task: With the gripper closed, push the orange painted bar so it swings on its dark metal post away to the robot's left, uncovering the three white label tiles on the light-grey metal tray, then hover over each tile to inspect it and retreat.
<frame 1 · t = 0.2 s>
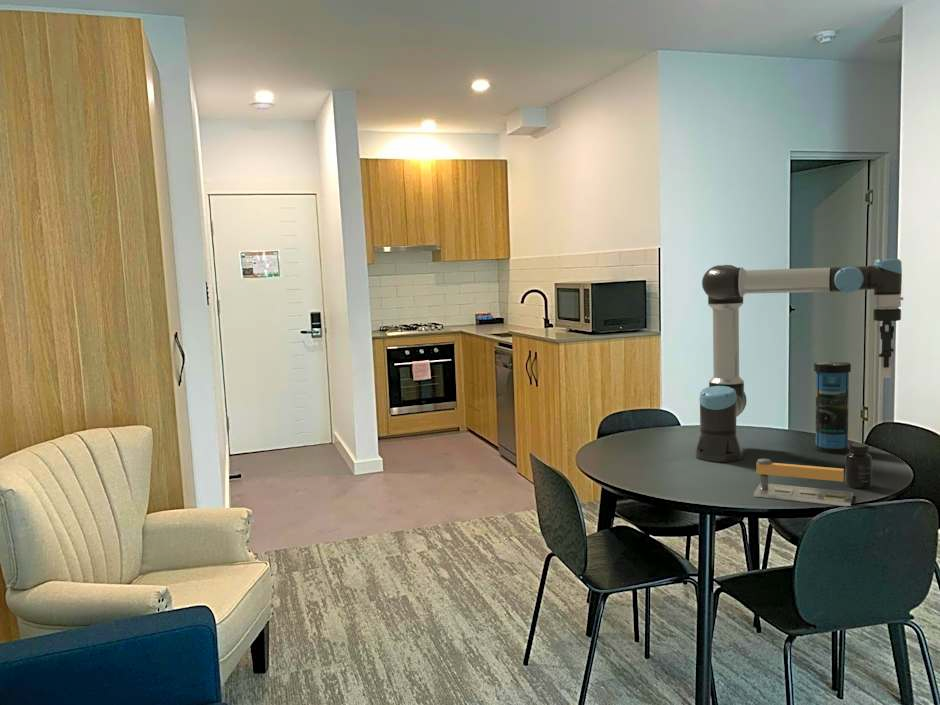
hand: (886, 375, 234), 28 cm above the table, fingers open, 13 cm apart
supplement bottle: (858, 486, 211), on the table
swing arm: (799, 469, 204), point 7 cm above the table, hinge at 0.0°
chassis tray: (802, 495, 204), on the table
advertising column: (831, 450, 253), on the table
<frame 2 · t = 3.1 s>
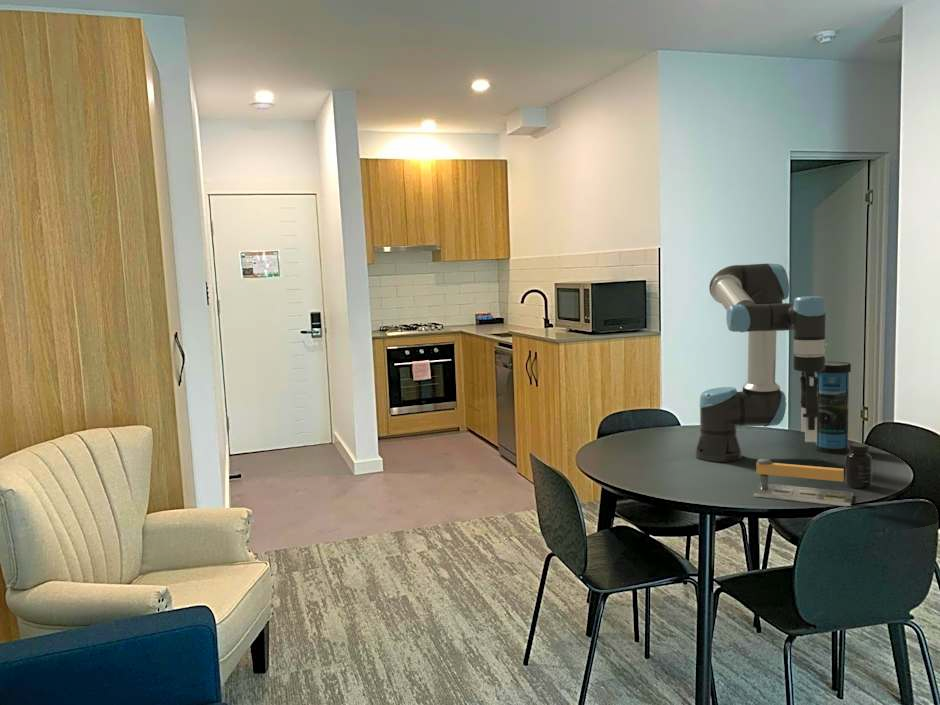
hand: (808, 436, 195), 18 cm above the table, fingers open, 12 cm apart
nothing on the table moved.
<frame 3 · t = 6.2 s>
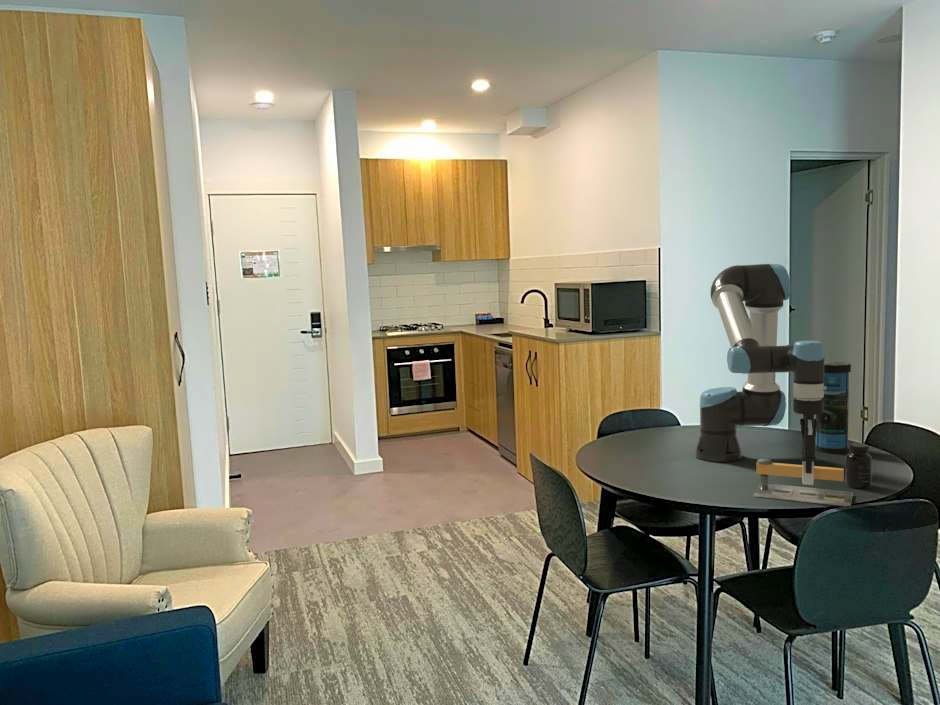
hand: (808, 483, 200), 4 cm above the table, fingers closed
swing arm: (799, 469, 204), point 7 cm above the table, hinge at 1.1°, touching gripper
everything else where it was.
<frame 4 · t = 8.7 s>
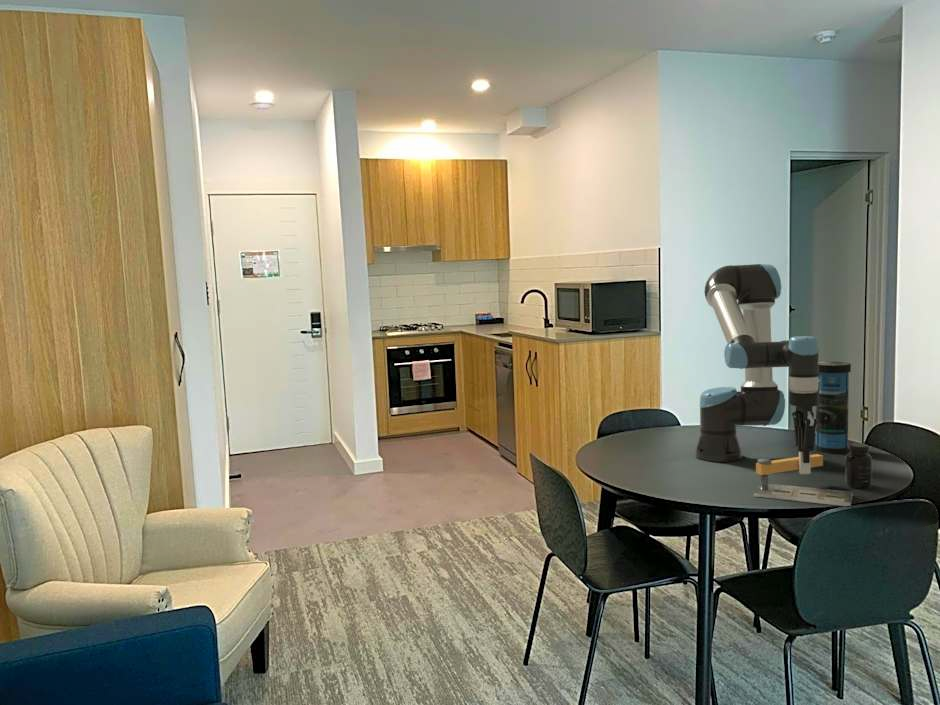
hand: (804, 473, 209), 5 cm above the table, fingers closed
swing arm: (789, 463, 211), point 7 cm above the table, hinge at 49.3°, touching gripper
everything else where it was.
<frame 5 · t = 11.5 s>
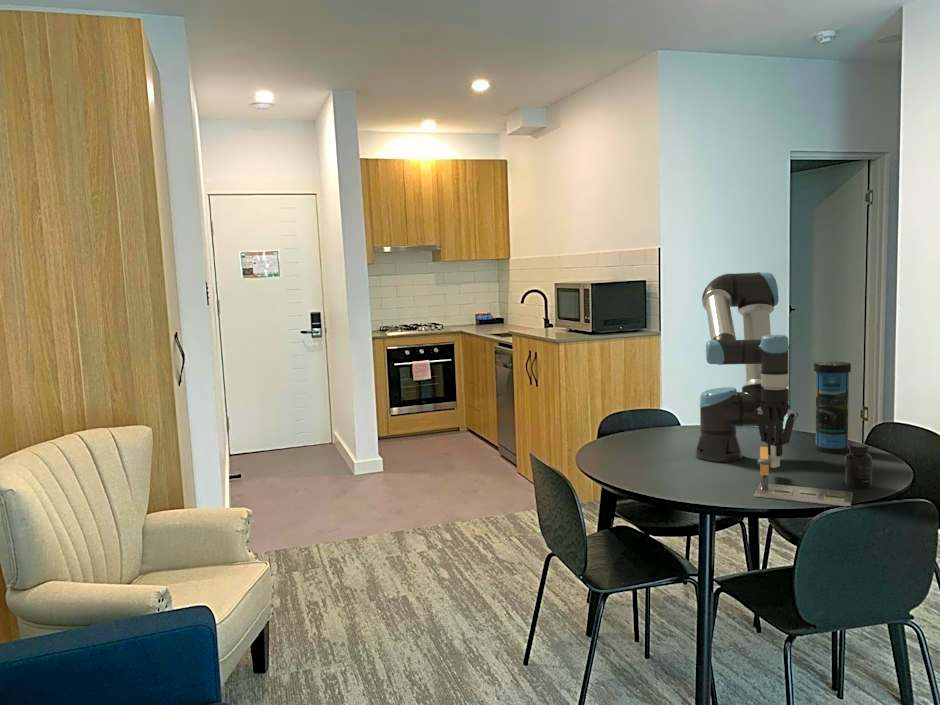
hand: (775, 466, 218), 5 cm above the table, fingers closed
swing arm: (764, 459, 217), point 7 cm above the table, hinge at 98.9°, touching gripper
everything else where it was.
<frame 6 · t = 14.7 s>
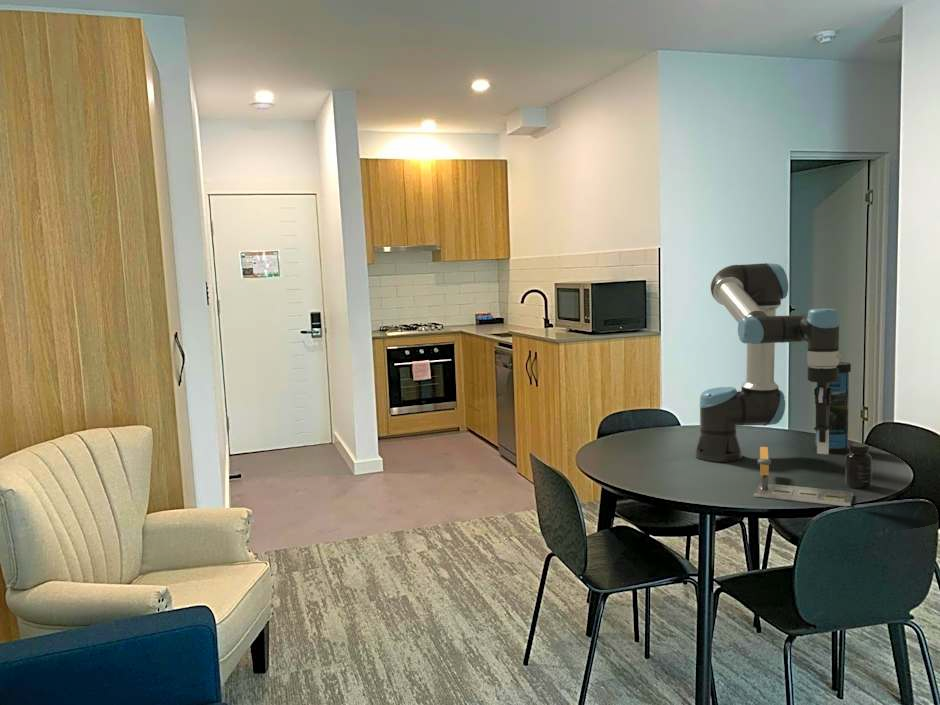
hand: (822, 453, 198), 13 cm above the table, fingers closed
swing arm: (764, 459, 217), point 7 cm above the table, hinge at 98.9°
everything else where it was.
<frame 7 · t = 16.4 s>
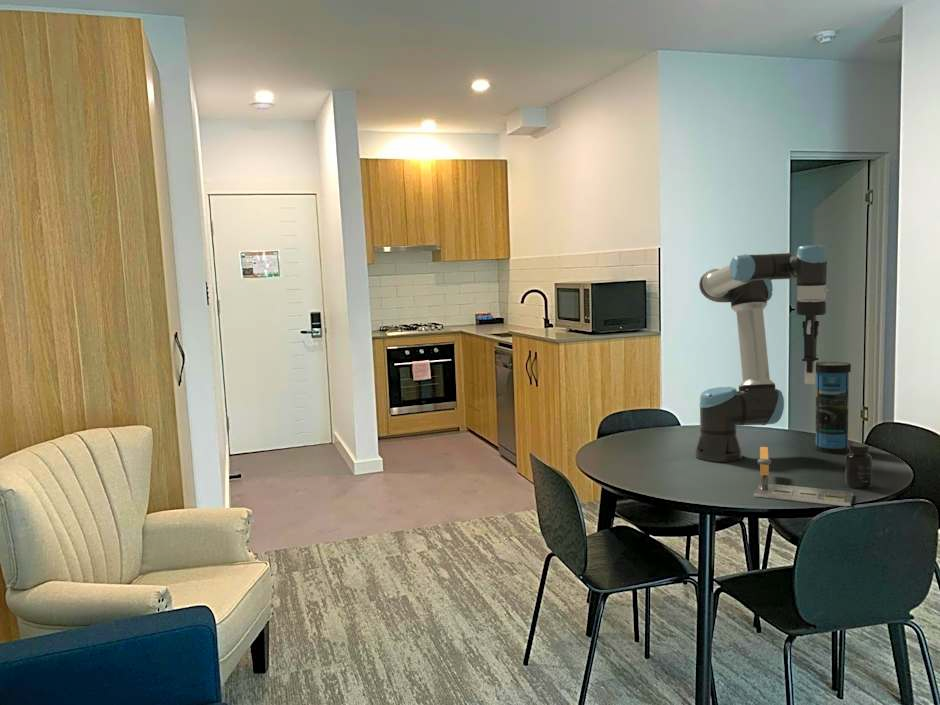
hand: (809, 383, 209), 30 cm above the table, fingers closed
nothing on the table moved.
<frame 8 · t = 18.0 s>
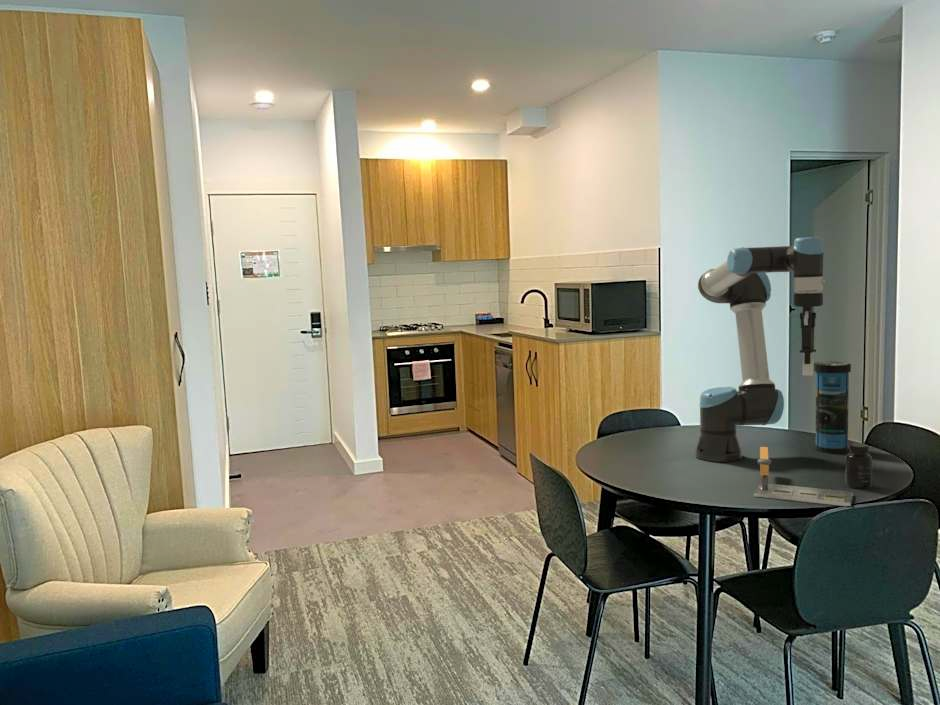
hand: (807, 374, 210), 32 cm above the table, fingers closed
nothing on the table moved.
at the end: swing arm at +99° (first picture: +0°) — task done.
